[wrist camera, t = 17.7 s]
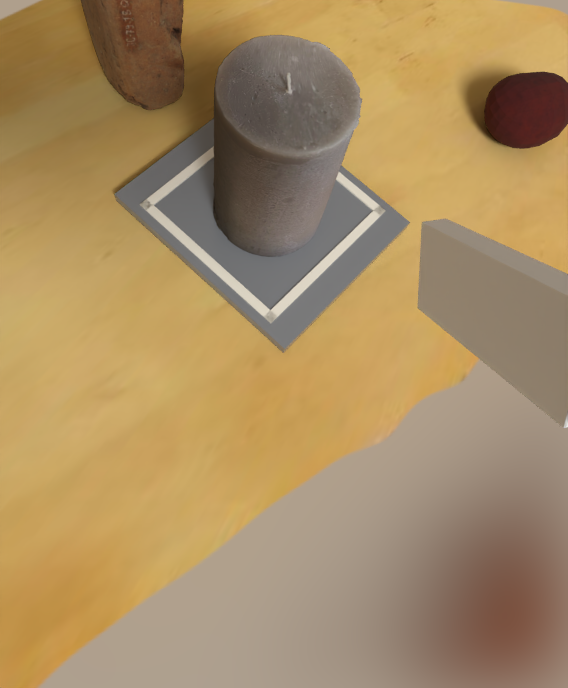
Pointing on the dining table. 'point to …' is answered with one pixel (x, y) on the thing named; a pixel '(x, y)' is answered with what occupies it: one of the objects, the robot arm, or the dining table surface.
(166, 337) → the dining table surface
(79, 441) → the dining table surface
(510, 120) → the potato
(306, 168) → the pillar candle
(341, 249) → the slate tile
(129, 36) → the block
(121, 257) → the dining table surface
